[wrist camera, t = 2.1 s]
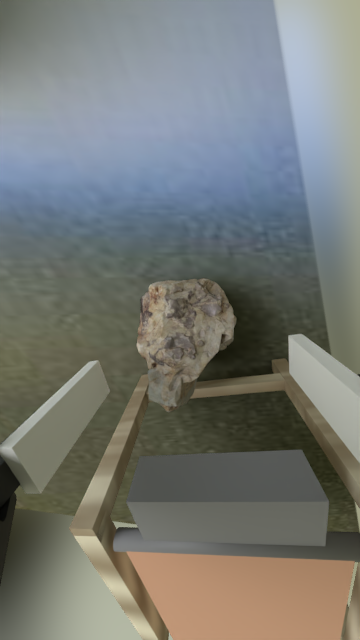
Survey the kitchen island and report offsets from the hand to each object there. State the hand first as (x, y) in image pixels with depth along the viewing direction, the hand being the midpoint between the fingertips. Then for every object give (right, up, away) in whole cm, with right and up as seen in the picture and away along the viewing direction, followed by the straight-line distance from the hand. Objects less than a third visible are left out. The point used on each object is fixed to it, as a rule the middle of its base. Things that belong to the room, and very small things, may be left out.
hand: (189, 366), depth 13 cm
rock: (+1, +3, +9) cm, 9 cm away
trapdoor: (+3, -14, +2) cm, 15 cm away
